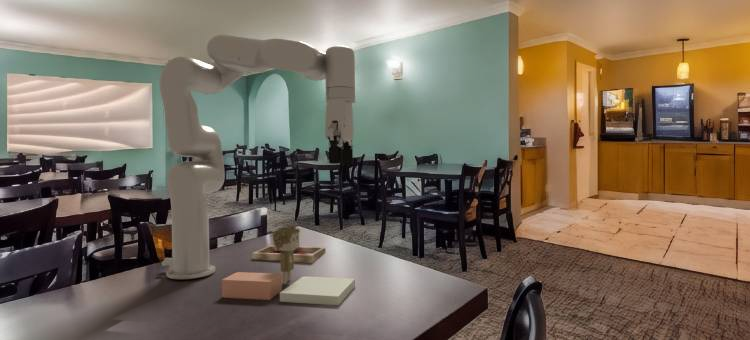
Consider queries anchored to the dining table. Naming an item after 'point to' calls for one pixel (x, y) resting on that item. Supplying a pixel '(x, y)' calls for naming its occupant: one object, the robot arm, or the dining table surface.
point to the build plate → (318, 290)
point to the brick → (252, 285)
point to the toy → (286, 248)
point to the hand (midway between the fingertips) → (341, 163)
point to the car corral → (304, 258)
